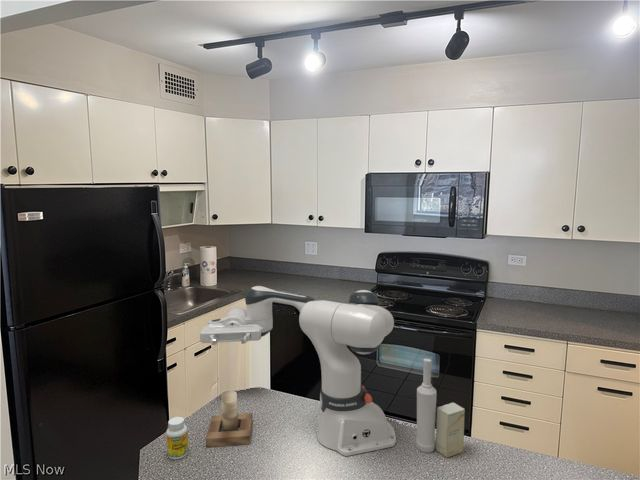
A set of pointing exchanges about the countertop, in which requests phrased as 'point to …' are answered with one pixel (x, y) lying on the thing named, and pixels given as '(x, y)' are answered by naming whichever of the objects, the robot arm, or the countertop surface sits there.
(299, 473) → the countertop surface
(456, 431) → the skincare box
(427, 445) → the bottle
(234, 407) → the dowel
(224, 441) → the socket block
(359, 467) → the countertop surface
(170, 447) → the supplement bottle
